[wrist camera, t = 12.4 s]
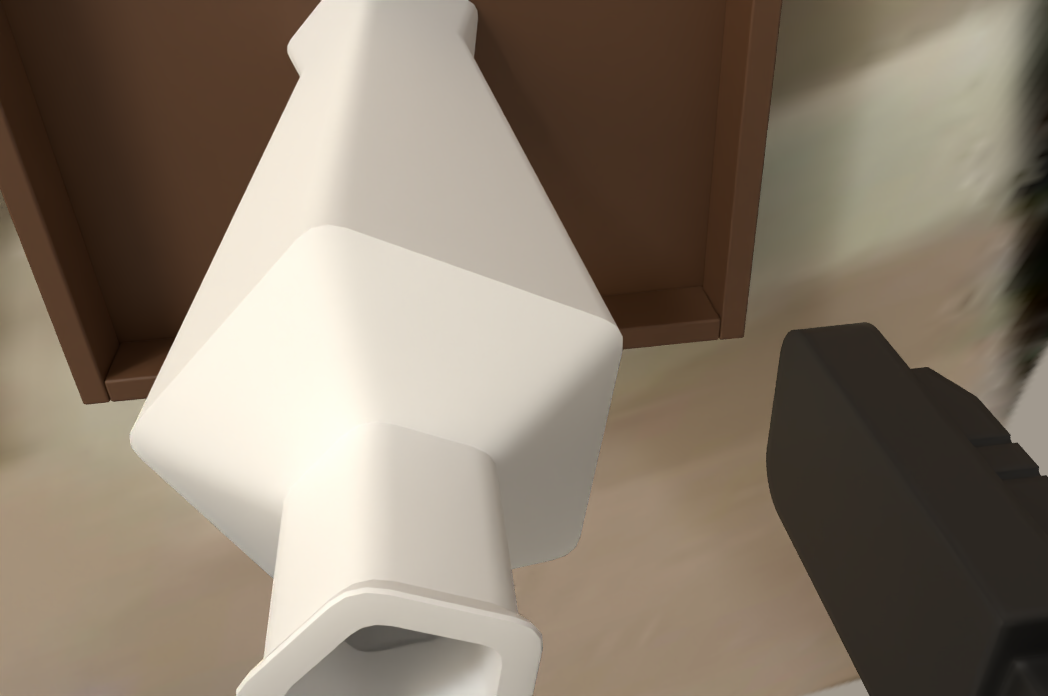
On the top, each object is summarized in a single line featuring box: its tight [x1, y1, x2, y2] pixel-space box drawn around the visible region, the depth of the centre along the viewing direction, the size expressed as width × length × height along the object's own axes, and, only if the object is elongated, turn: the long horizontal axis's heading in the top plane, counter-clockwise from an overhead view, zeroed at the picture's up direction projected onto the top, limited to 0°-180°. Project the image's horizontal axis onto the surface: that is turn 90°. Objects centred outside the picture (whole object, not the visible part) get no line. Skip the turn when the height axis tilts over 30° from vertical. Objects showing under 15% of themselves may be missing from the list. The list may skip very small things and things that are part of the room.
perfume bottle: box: [129, 0, 623, 696], centre depth 13 cm, size 5×4×15 cm
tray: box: [0, 0, 782, 404], centre depth 19 cm, size 15×13×2 cm
